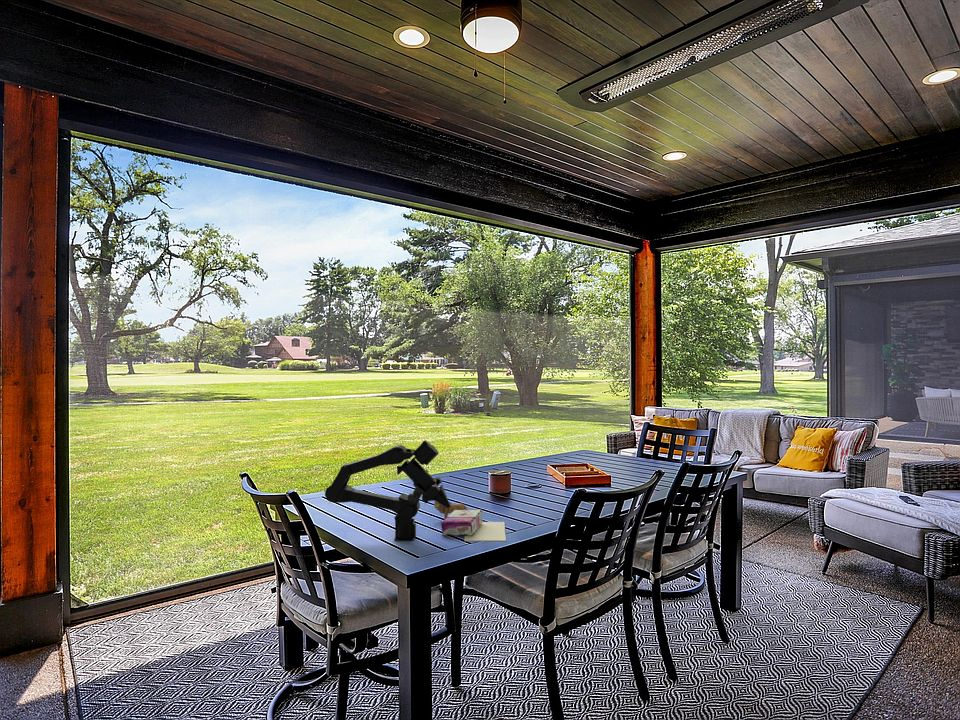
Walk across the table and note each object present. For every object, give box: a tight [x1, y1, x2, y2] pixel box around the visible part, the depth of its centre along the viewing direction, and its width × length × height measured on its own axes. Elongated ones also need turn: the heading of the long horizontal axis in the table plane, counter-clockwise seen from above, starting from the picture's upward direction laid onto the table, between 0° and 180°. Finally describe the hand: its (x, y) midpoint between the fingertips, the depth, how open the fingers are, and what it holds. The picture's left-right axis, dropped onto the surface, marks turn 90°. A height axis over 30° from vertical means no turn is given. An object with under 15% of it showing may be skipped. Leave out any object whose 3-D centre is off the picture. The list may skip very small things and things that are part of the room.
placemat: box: [464, 521, 507, 542], centre depth 203 cm, size 14×22×1 cm, turn 179°
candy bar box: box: [440, 509, 484, 536], centre depth 205 cm, size 11×5×16 cm
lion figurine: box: [433, 501, 468, 519], centre depth 216 cm, size 15×5×9 cm, turn 89°
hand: (449, 507), depth 195 cm, fingers closed
